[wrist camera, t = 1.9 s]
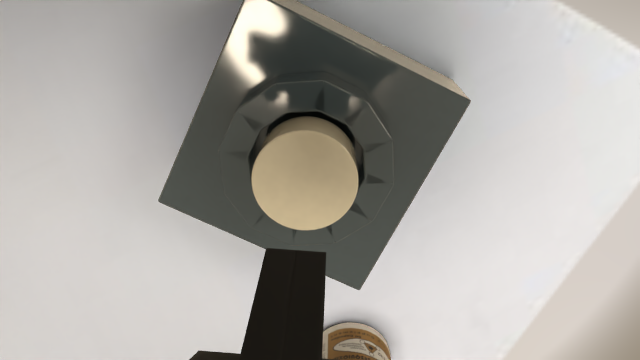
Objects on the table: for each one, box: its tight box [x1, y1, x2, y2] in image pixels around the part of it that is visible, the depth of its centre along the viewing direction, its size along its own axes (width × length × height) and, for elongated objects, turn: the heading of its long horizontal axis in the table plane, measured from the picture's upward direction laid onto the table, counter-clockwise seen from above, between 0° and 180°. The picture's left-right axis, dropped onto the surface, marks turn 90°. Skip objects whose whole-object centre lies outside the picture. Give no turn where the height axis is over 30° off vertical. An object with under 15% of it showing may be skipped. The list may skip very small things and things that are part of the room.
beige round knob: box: [251, 116, 359, 230], centre depth 24 cm, size 4×4×2 cm
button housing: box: [158, 0, 471, 290], centre depth 27 cm, size 10×10×6 cm
